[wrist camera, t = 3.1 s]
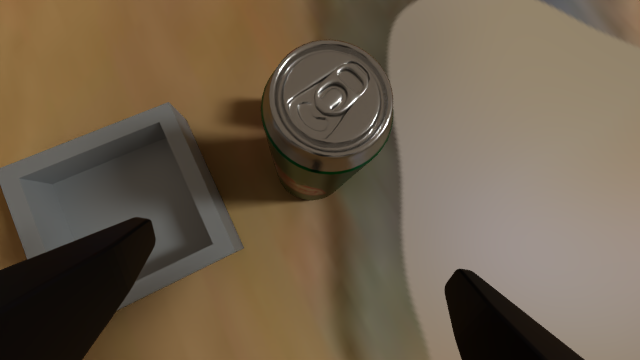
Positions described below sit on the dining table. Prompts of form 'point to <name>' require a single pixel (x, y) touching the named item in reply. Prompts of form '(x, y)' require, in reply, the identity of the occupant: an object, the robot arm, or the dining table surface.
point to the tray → (125, 195)
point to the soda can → (325, 116)
